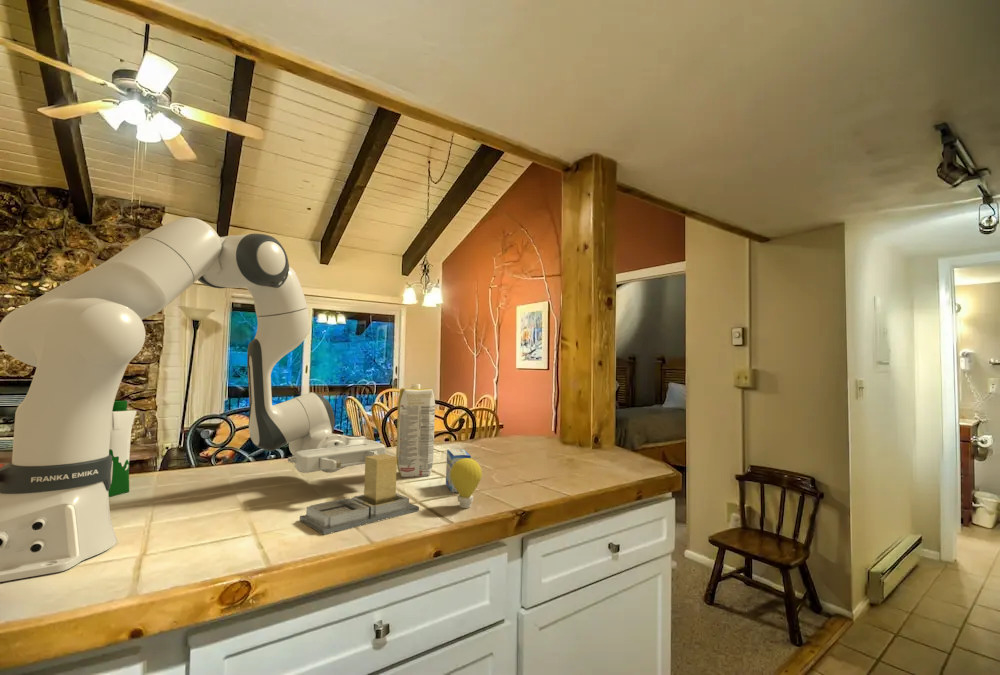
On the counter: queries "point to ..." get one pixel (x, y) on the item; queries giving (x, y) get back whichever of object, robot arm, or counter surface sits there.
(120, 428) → the milk carton
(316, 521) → the grey double tray
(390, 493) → the wooden block
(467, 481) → the light bulb
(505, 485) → the counter surface
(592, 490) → the counter surface
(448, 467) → the medicine box
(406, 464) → the juice carton
